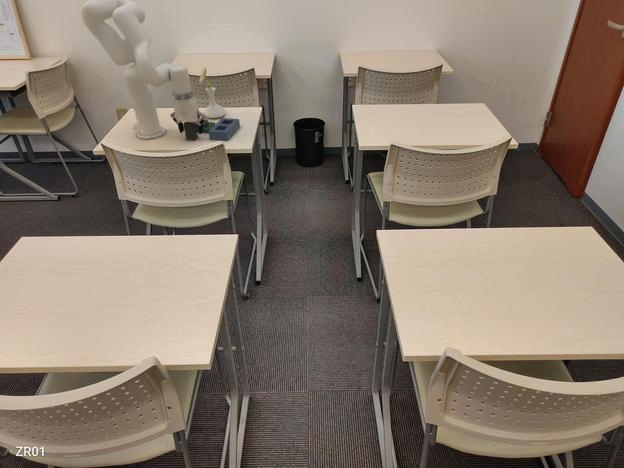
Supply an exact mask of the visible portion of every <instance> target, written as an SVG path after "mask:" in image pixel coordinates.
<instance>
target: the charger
mask: <svg viewBox="0 0 624 468" xmlns="http://www.w3.org/2000/svg"><path fill="white" fill-rule="evenodd" d="M182 123H183V126H184V134H185V139H186V141H193V142H194V141H196V140H197V139H198V138H199V135H198V134H199V133H197V128H196V123H195V122H182Z"/></svg>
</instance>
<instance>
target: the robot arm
mask: <svg viewBox="0 0 624 468" xmlns="http://www.w3.org/2000/svg"><path fill="white" fill-rule="evenodd" d="M80 14H81V19H82V22H83V24H84V25H85V27H86V28H87V30H88V31H89V32H90V33H91V35H93V37H94V38H95V39H96V40H97V41H98V43H99V44H100V45H101V47H102V48H103V50H104V51H105V52H106V53H107V55H108V57H110V59H111V60H112V61H113V62H114V64H115V65H117V66H118V67H124V66H127V65H129V64H131V63H133V64H132V65H130V66H129V67H127V68H126V69H125V70H124V72H123V73H122V74H123V76H122V79H123V82H124V84H125V86H126V89H127V91H128V93H129V97H130V100H131V102H132V106H133V110H134V115H135V118H136V121H137V123H133V124H132V130H133V131H134V130H135V131H136V130H137V133H136V135H137V137H138V138H139V139H143V140H151V139H156V138H160V137H162V136H163V135H164V134H165V133H166V129H165V128H164V127H163V126H161V124H160V123H161V122H160V119H159V115H158V111H157V107H156V102H155V98H154V94H153V92H152V91H151V89H149V86H148V85H151V86H152V87H154V88H162V87H164V86H165V85H167V84H168V83H171V85H172V89H173V92H171V95H172V96H174V99H173V109H174V111H173V112H172V113H170V114H169V117H171V119H172V120H173V122H175V123H176V125H177V128H178V130H179V133H180V134H182V133H184V132H185V130H184V125H183V123H184V122H196V123H197V124H198V126H197V127H198V132H199V133H198V134H199V135H201V134H203V133H202V132H203V125H202V124H203V122H204V121H205V119H206V120H207V117H206V115H205V114H203V112H201V111H200V109H199V106H198V103H197V100H196V98H195V97H194V95H193V89H192V84H191V80H190V75H189V70H188V67H187V66H186V65H183V64H174V63H169V62H165V63H162V64H160V65H157V63H156V61H154V59H153V57H152V56H151V55H150V53H149V48H150V45H151V42H152V38H151V36H150V35H149V33H148V32H147V31H146V29H145V28H144V26H143V23H144V22H145V19H146V14H145V11H144V9H143V8H142V7H141V6H140V5H139V4H137V3H136V2H134V1H132V0H87V1H85V2H84V3H83V5H82V6H81V11H80ZM111 18H112V21H113V23H114V24H115V26H116V27H117V29H118V30H119V31H120V33H121V34H122V36H123V37H124V39H123V38H122V37H121V35H119V33H118V31H117V30H116V29H115V28H114V27H112V25H110V24H108V23H107V22H106V20H109V19H111ZM200 118H202V120H201V119H200Z"/></svg>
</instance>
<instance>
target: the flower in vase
mask: <svg viewBox="0 0 624 468" xmlns="http://www.w3.org/2000/svg"><path fill="white" fill-rule="evenodd" d="M207 70H208V69H207V68H206V67H203V69H201V72H200V74H201V75H199V81H198V82H199V84H203V83H204V82H205V79H206V85H207V86H208V87H206V88H205V91H206V92H207V94H208V97H209V104H208V106H207V107H206V108H205V109H204V110H203V112H202V113H203V114H205V115H206V119H219V118H222V117H223V116H225V115H226V113H227V110H226V109H225V108H224V107H223V106H221V105H220V104H218V103H217V102H216V100H215V99H216V98H215V92H216V89H217V88H216V87H214V86H213V84H212V82H211V81H210V80H209V78H208V77H207Z"/></svg>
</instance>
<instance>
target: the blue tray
mask: <svg viewBox="0 0 624 468" xmlns="http://www.w3.org/2000/svg"><path fill="white" fill-rule="evenodd" d="M240 128H241V123H240V118H231V117H230V118H229V117H220V119H219V120H218V121H217V122H215V125H214V126H213V127H212V128H211V129H210V130H209V133H208V136H209V137H208V138H209V140H210V141H211V140H212V141H213V140H214V141H226V142H227V141H229V140H230V139H231V138H232V137H233V136H234V134H235V133H236V132H237V131H238V130H239V129H240Z"/></svg>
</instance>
